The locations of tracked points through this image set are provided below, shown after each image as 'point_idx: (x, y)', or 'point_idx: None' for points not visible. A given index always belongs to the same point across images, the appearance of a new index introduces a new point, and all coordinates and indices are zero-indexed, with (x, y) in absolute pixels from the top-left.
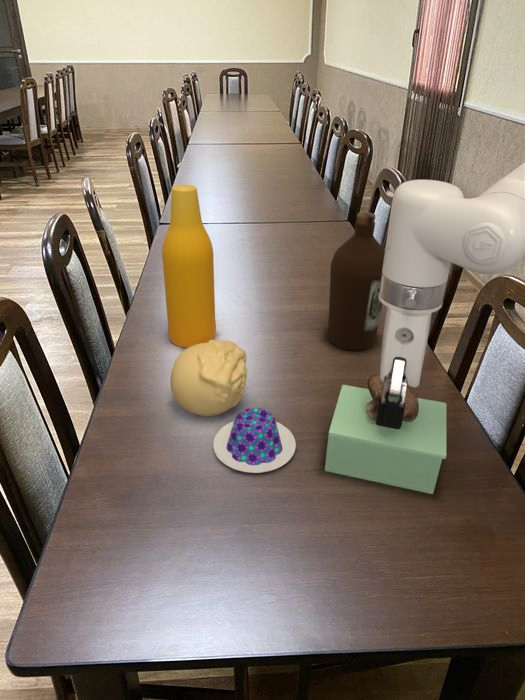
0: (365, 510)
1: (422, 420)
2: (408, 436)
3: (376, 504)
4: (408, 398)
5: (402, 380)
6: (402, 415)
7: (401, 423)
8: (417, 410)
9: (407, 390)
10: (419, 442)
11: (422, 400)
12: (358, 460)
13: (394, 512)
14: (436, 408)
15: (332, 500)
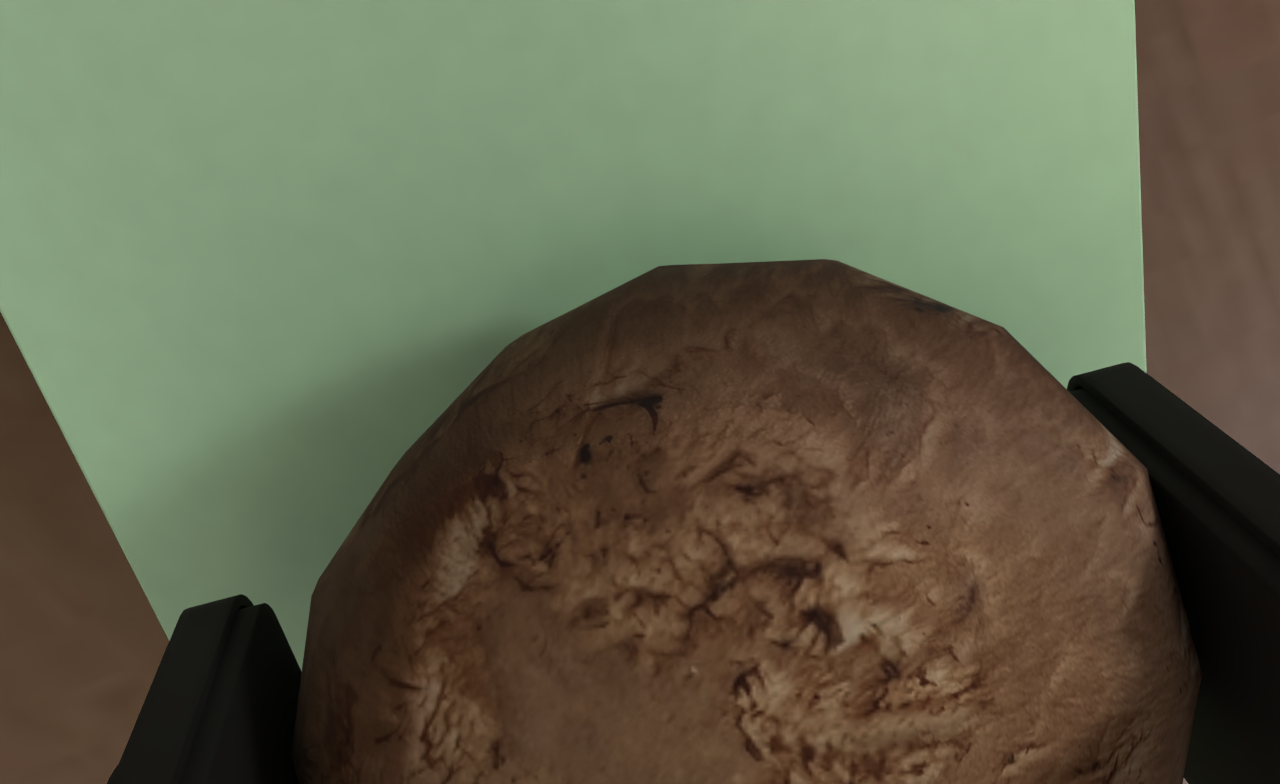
0: (1233, 201)
1: (507, 155)
2: (920, 212)
3: (1152, 153)
4: (1001, 584)
5: (242, 779)
6: (1257, 474)
7: (1174, 398)
8: (846, 310)
9: (829, 691)
10: (983, 55)
11: (43, 292)
12: None
13: (1188, 4)
14: (87, 56)
15: (1211, 420)
